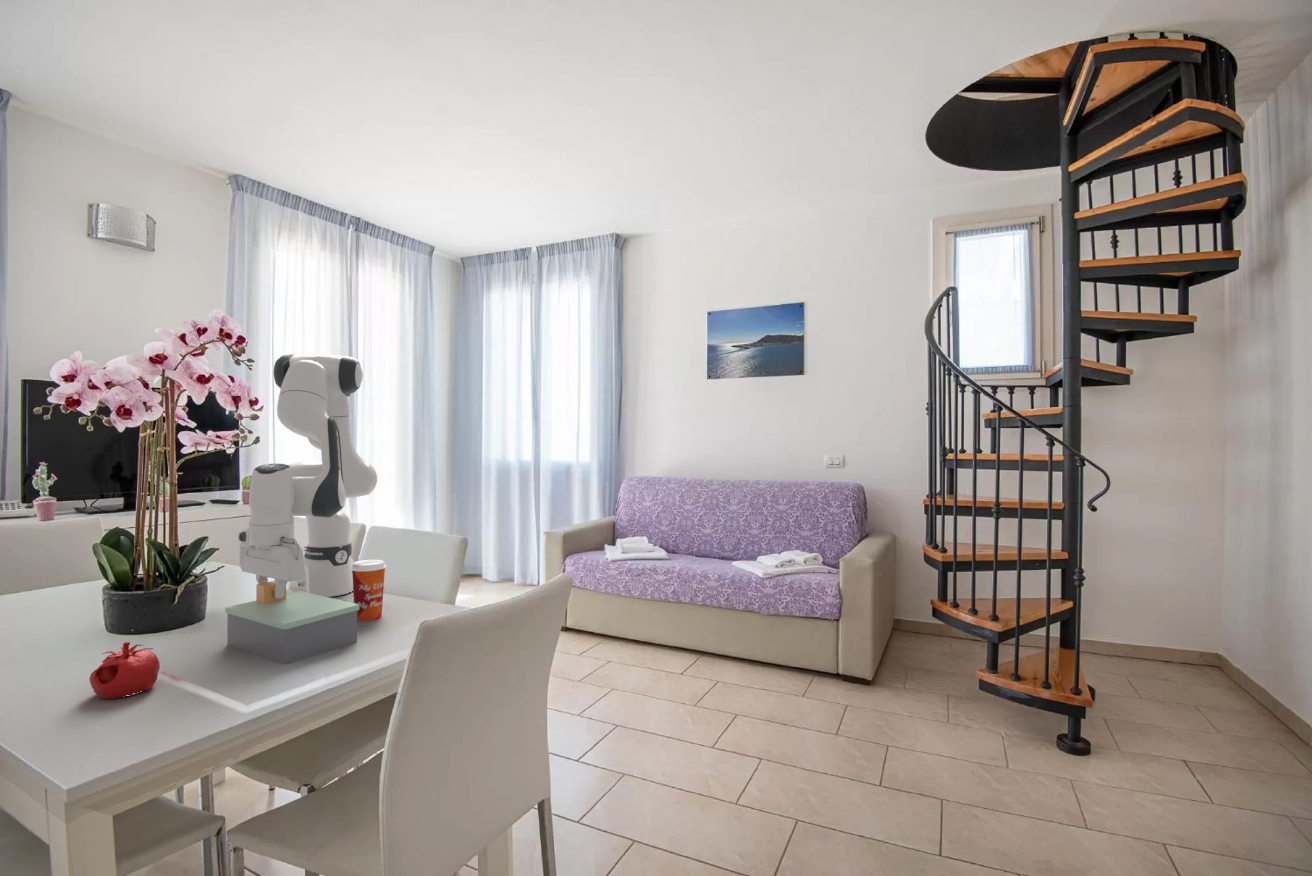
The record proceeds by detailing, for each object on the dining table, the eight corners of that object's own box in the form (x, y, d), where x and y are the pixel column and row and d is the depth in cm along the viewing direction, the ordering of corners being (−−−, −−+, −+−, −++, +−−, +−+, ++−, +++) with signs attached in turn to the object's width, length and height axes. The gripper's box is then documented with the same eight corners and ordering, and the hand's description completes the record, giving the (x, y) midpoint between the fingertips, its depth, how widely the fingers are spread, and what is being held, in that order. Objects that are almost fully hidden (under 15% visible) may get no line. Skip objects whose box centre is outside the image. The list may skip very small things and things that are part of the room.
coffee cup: (360, 628, 152) (361, 567, 152) (344, 621, 157) (344, 562, 157) (392, 620, 159) (393, 561, 159) (376, 614, 164) (376, 557, 164)
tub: (227, 649, 137) (227, 613, 137) (299, 629, 151) (299, 596, 151) (285, 669, 126) (285, 629, 126) (357, 645, 140) (357, 610, 140)
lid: (225, 612, 137) (225, 589, 137) (300, 595, 151) (300, 574, 151) (284, 629, 126) (284, 604, 126) (359, 609, 140) (359, 586, 140)
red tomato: (152, 676, 122) (153, 629, 122) (166, 690, 115) (167, 640, 115) (84, 692, 114) (84, 642, 114) (95, 708, 108) (95, 655, 108)
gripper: (312, 537, 140) (312, 598, 140) (261, 529, 150) (261, 586, 150) (284, 541, 135) (283, 605, 135) (233, 533, 145) (233, 592, 145)
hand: (271, 595), depth 143 cm, fingers open, 4 cm apart
